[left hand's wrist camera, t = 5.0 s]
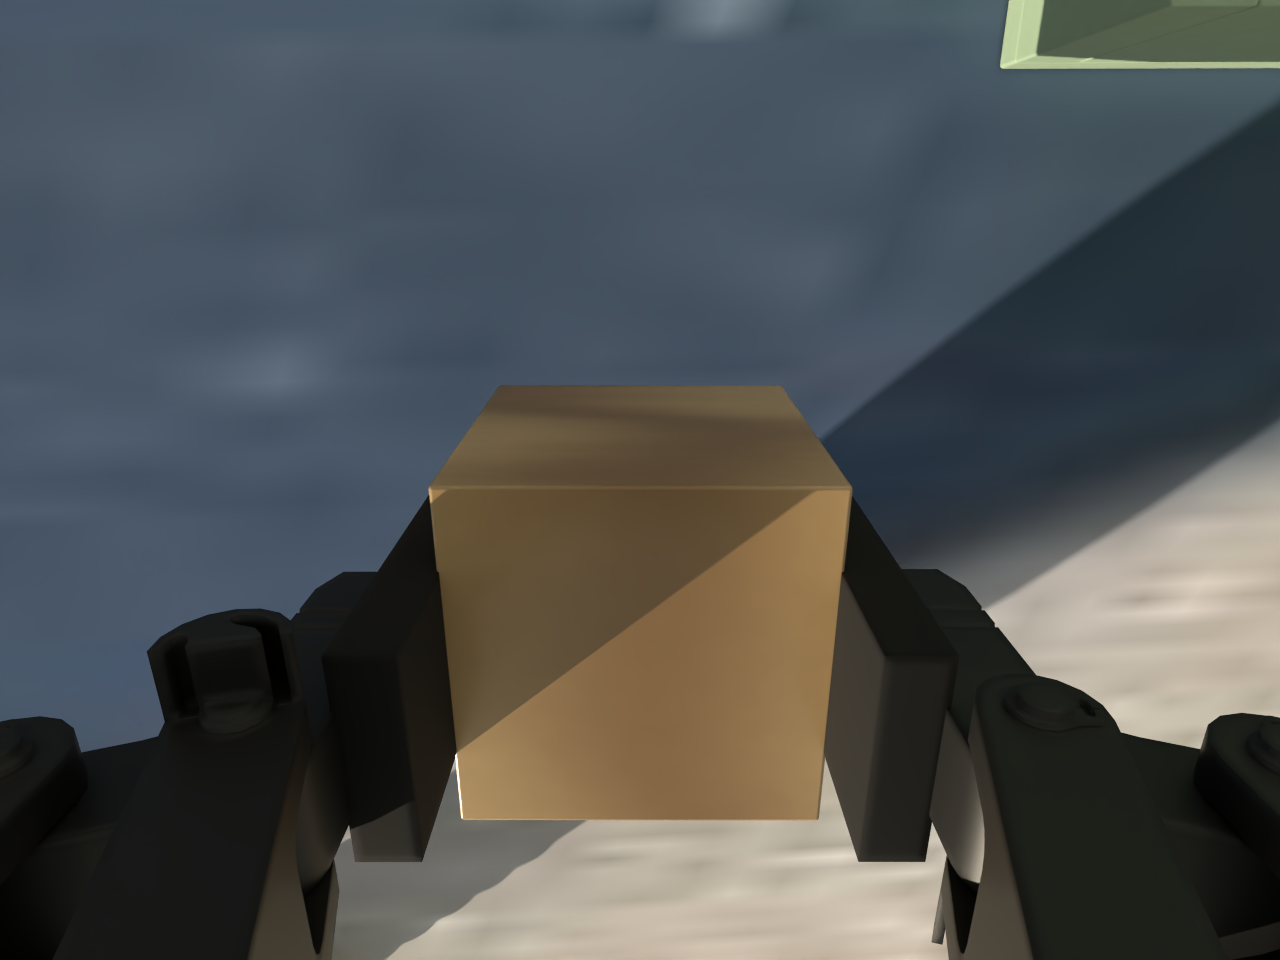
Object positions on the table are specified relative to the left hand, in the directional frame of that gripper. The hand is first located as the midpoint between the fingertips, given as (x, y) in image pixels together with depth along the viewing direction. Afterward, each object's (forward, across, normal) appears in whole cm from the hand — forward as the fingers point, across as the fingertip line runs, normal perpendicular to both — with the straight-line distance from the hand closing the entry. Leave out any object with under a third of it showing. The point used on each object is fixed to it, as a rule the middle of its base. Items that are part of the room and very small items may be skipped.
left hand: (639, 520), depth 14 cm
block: (0, 0, 0) cm, 0 cm away
